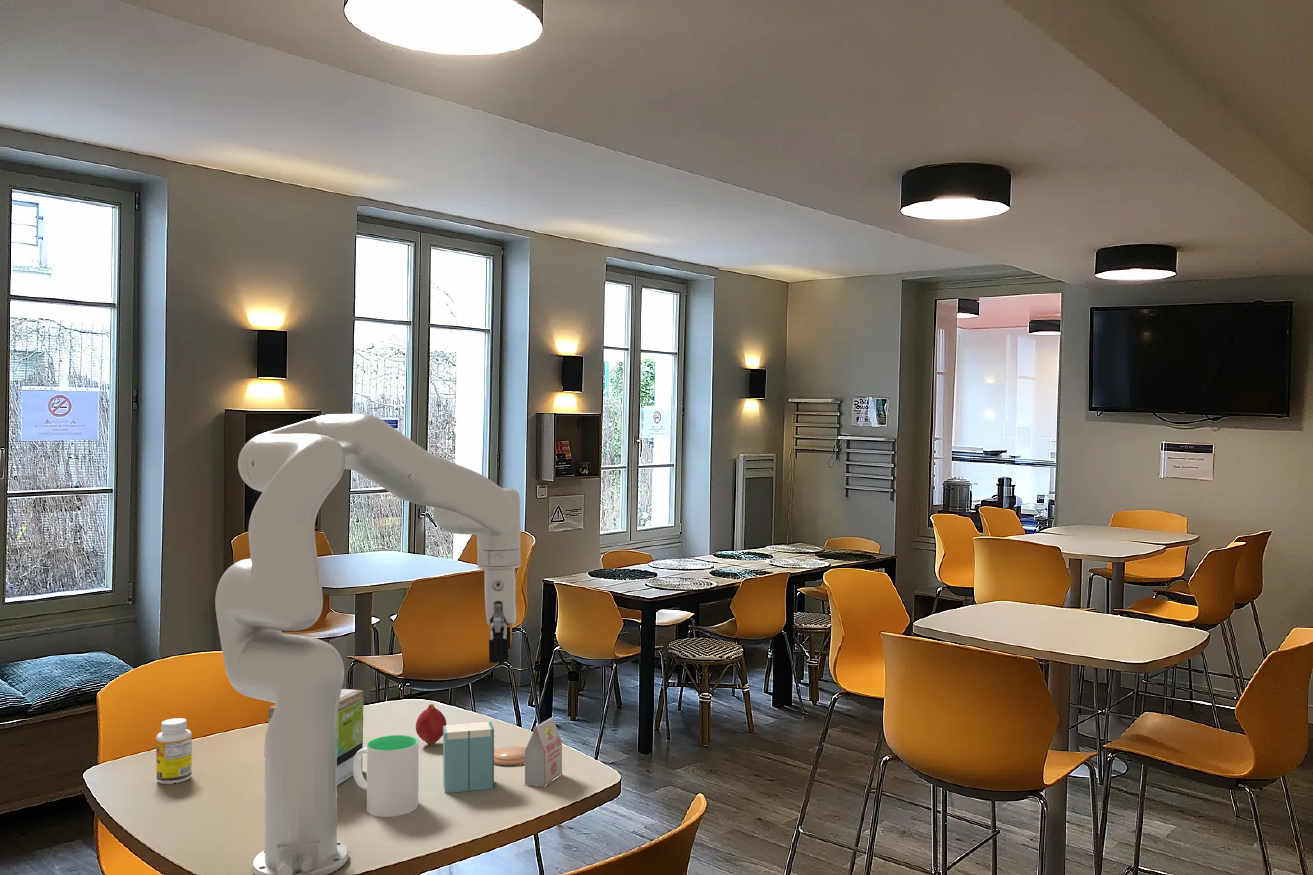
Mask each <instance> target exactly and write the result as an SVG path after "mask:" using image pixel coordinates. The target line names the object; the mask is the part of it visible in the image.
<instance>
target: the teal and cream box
mask: <svg viewBox="0 0 1313 875" xmlns="http://www.w3.org/2000/svg"><path fill="white" fill-rule="evenodd" d="M442 737H443V738H442V752H443V753H442V756H443V758H442V762H443V763H442V768H443V770H442V776H443V778H442V779H443V780H442V786H443V790H444V794H448V793H449V794H450V793H461V792H470V791H471V792H472V791H483V790H492V789H495V765H494V750H495V728H494V725H493V722H492V721H489V722H488V721H482V722H470V723H469V722H467V723H458V724H457V723H455V724H447V725H446V726H443V736H442Z"/></svg>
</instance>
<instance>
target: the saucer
mask: <svg viewBox="0 0 1313 875" xmlns="http://www.w3.org/2000/svg"><path fill="white" fill-rule="evenodd" d="M526 747H527V746H526ZM526 747H525V746H504V747H498V748H494V766H499V765H516V766H521V765H520V764H523V765H525V764H524V763H525V749H526Z"/></svg>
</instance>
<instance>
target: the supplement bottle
mask: <svg viewBox="0 0 1313 875" xmlns="http://www.w3.org/2000/svg"><path fill="white" fill-rule="evenodd" d="M160 727H161V728H160V729H161V730H160V731H161V732H158V734H157V735H156V737H155V739H156V741H155V745H156V746H155V747H156V749H155V750H156V751H155V752H156V756H155V757H156V758H155V759H156V762H155V763H156V764H155V765H156V766H155V767H156V781H157V782H158V783H159V784H161V785H162V784H163V785H174V783H176V784H180V783H183V782H186V781H188V780H189V779H191V777H192V774H193V771H192V770H193V768H192V767H193V762H192V761H193V755H192V754H193V752H192V751H193V750H192V749H193V747H192V746H193V744H192V743H193V740H192V739H193V738H192V736H193V735H192V734H193V733H192V731H191V730H190V729H187V728H188V725H187V719H186V718H184V717H183V718H182V717H181V718H180V717H179V718H169V719H166V720H163V721H162V722H161V726H160Z"/></svg>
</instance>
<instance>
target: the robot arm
mask: <svg viewBox="0 0 1313 875" xmlns="http://www.w3.org/2000/svg"><path fill="white" fill-rule="evenodd" d="M237 469H238V472H239V475H240V477H241V479H242V481H243V482H244V484H246V485H247V486H248V487H250V488H251V489H252V490H255V491H257V492H261V494H260V495H259V497H258V498H257V501H256V503H255V505H254V507H253V509H252V511H251V514H250V518H249V523H248V545H249V555H250V558H245V559H241V560H239V561H236V562H234V563H233V564H232V565H231V566H229V567H228V568H227V569H226V570H225V571H224V573H223V574H222V576H221V577H220V579H219V581H218V585H217V588H216V593H215V598H214V600H215V601H214V604H215V613H216V614H215V615H216V620H217V628H218V634H219V639H220V640H219V641H220V646H221V651H222V658H223V664H224V668H225V673H226V676H227V678H228V681H229V683H230V684H231V686H232V687H233V689H234V690H235V691H236V692H237V693H239V694H241V695H243V696H245V697H248V698H251V699H256V700H259V701H265V702H269V703H272V704H274V705H275V710H274V713H273V716H272V718H271V720H270V722H269V725H267V727H266V732H265V735H264V744H263V745H264V746H263V748H264V749H263V750H264V751H263V752H264V754H263V757H264V850H262V851H260V852H259V853H258V854H257V855H256V856H255V857H254V859H253V861H252V872H253V874H254V875H330V874H331V873H332V874H333V873H334V872H335V871H337V870H339V869H340V868H342V867H343V866H344V865H345V864H346V863H347V861H348V860H349V848H348V846H347V845H346V844H345V843H343V841H340V840H338V831H337V830H338V828H337V827H338V823H337V822H338V818H337V817H338V814H337V813H338V809H337V808H338V807H337V806H338V805H337V804H338V801H337V800H338V798H337V797H338V785H337V714H338V705H339V699H340V695H341V690H342V689H343V684H344V677H345V665H344V661H343V658H342V656H341V654H340V652H339V651H338V650H337V648H335V647H334V646H333V645H332V644H331V643H329V642H327V641H324V640H322V639H319V638H316V637H312V636H306V635H305V636H304V635H299V634H291V633H283V632H282V631H284V632H297V631H302V630H306V629H308V628H310V627H312V626H313V625H314V624H315V623H316V622H317V621H318V620H319V618H320V616H321V614H322V611H323V603H324V597H323V595H324V594H323V589H322V588H323V587H322V580H321V572H320V566H319V558H318V552H317V545H316V534H315V533H316V532H315V528H316V527H315V526H316V525H315V524H316V520H317V517H318V516H317V515H318V513H319V510H320V508H321V506H322V505H323V503H324V501H325V500H326V498H327V496H328V495H329V494H330V493H331V491H333V489H334V488H335V487H336V485H338V483H339V481H340V480H341V478H342V476H343V474H344V471H345V470H351V471H353V472H357V473H359V475H362V477H363V476H364V478H366V479H369V480H370V481H371V482H373V483H375V484H376V485H378V486H380V487H381V488H382V489H384V490H386V491H387V492H389V493H391V494H392V495H393V496H395V497H397V498H398V499H400V500H403V501H406V502H409V503H413V504H416V505H418V506H419V505H420V506H425V507H429V508H433V519H434V521H435V523H436V524H437V525H438V526H439V528H440V529H441V530H444V531H445V532H447V533H451V534H455V535H457V534H458V535H467V536H468V535H470V536H471V535H473V536H474V535H475V536H476V537H477V538H476V539H477V540H476V546H477V547H476V548H477V549H476V551H477V552H476V553H477V557H476V559H477V562H476V563H477V568H478V569H479V570H484V571H483V572H484V573H483V574H484V606H485V617H486V624H487V626H489V628H490V629H489V630H490V632H489V633H490V634H489V638H488V653H489V654H488V661H489V663H491V664H494V663H495V664H499V663H501V664H502V663H507V662H509V650H510V649H511V627H510V625H511V626H514V625H515V624H516V620H517V581H516V570H515V569H517V568H521V565H522V564H521V561H522V560H521V559H522V558H521V496H520V493H519V492H518V490H517V489H514V488H510V487H509V488H508V487H500V486H499V485H498V484H497V483H495V482H493V481H492V480H491V479H489V478H488V477H486V476H484V475H482V474H481V473H479V472H476V471H474V470H472V469H469V468H467V467H465V466H462V465H459V464H457V463H454V462H452V461H450V460H448V459H445V458H443V457H440V456H437V455H435V454H432V453H430V452H428V451H427V450H425V449H424V448H423V447H422V446H420V445H419V444H417V443H415V442H414V441H413V440H412V439H410V438H409V437H407V436H406V435H405V434H403V433H402V432H400V431H399V430H397V429H396V428H395V427H393V426H392V425H390V424H389V423H388V422H386V421H385V420H383V419H382V418H380V417H378V416H375V415H372V414H368V413H332V414H331V413H329V414H325V415H319V416H316V417H312V418H310V419H306V420H302V421H299V422H296V423H293V424H289V425H286V426H283V427H280V428H277V429H273V430H269V431H266V432H263V433H261V434H258V435H255V436H254V437H252V438H251V439H250V440H248V441H247V442H245V444H244V446H243V447H242V448H241V450H240V452H239V456H238V459H237Z"/></svg>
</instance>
